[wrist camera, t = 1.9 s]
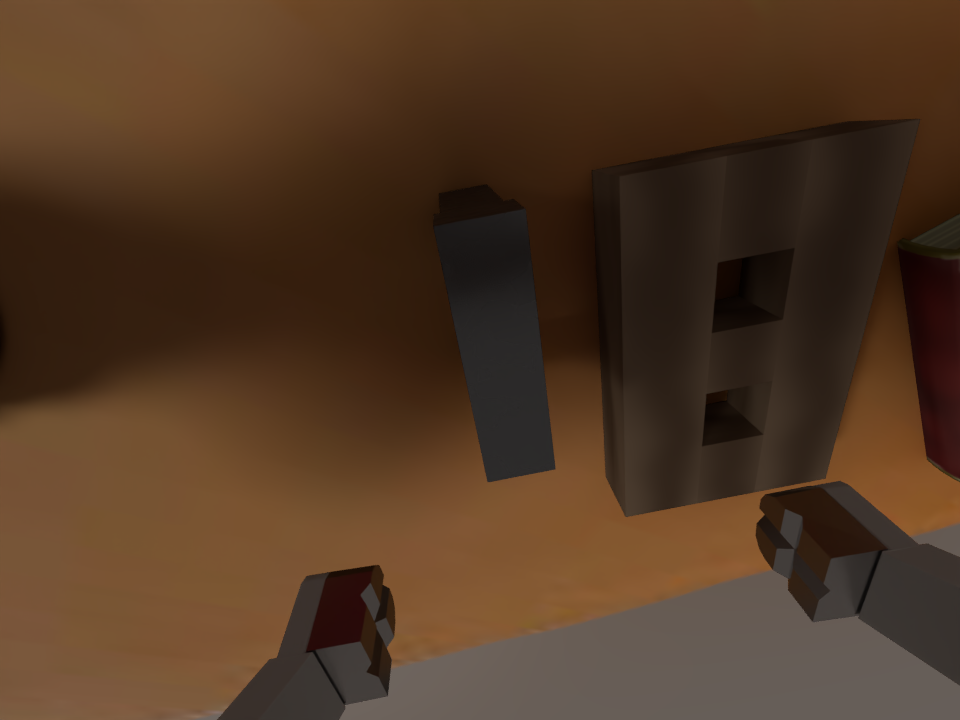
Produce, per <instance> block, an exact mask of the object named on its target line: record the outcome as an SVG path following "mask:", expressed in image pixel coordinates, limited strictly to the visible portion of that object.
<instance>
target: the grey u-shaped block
mask: <svg viewBox="0 0 960 720" xmlns="http://www.w3.org/2000/svg"><path fill="white" fill-rule="evenodd" d="M439 205H440V213H437V214H434V220H433V227H434V232H435V237H436V242H437V246H438V251H439V256H440V260H441V265H442V270H443V274H444V279H445V284H446V288H447V293H448V298H449V303H450V307H451V312H452V317H453V321H454V326H455V331H456V335H457V340H458V345H459V350H460V354H461V359H462V364H463V368H464V373H465V378H466V382H467V387H468V392H469V397H470V401H471V406H472V411H473V415H474V420H475V425H476V429H477V434H478V439H479V443H480V448H481V453H482V458H483V462H484V467H485V472H486V476H487V481H488V482H492V481H497V480H502V479H507V478H513V477H518V476H523V475H528V474H533V473H539V472H544V471H549V470H554V469H555V461H554V452H553V444H552V435H551V426H550V417H549V409H548V400H547V391H546V383H545V374H544V365H543V356H542V348H541V339H540V330H539V322H538V313H537V304H536V295H535V287H534V278H533V269H532V261H531V252H530V243H529V235H528V226H527V217H526V209H525V208H524V207H523V206H521V205H520V204H519V203H518V202H517V201H515V200H514V199H510V200H505V201H504V200H503V199H501V198H500V197H499V196H498V195H497V194H496V193H495V192H494V191H493V190H492V189H491V188H490V187H489V186H488V185H487V184H486V185H481V186H476V187H470V188H465V189H460V190H455V191H449V192H444V193H439Z"/></svg>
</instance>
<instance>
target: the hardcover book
mask: <svg viewBox="0 0 960 720" xmlns="http://www.w3.org/2000/svg"><path fill="white" fill-rule="evenodd" d="M897 244H898V252H899V259H900V266H901V273H902V281H903V288H904V295H905V303H906V310H907V317H908V324H909V332H910V339H911V346H912V354H913V361H914V368H915V375H916V383H917V390H918V397H919V405H920V412H921V419H922V426H923V434H924V441H925V448H926V456H927V460H928V461H929V462H930V463H932V464H933V465H934V466H935V467H936V468H938V469H939V470H940V471H942V472H943V473H945V474H946V475H948V476H950V477H951V478H953V479H955V480H957V481H959V482H960V214H958V215H956V216H955V217H953V218H951V219H949V220H947V221H945V222H943V223H942V224H940V225H938V226H936V227H934V228H932V229H931V230H929V231H927V232H925V233H923V234H921V235H919V236H918V237H916V238H914V239H912V240H910V241H909V240H907V239H904V238H903V239H901V240H900V241H898V242H897Z"/></svg>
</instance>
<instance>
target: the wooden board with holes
mask: <svg viewBox="0 0 960 720" xmlns="http://www.w3.org/2000/svg"><path fill="white" fill-rule="evenodd" d="M919 122H920V119H905V120H877V121H848V122H842V123H837V124H832V125H827V126H821V127H816V128H811V129H806V130H800V131H795V132H790V133H785V134H780V135H774V136H769V137H764V138H759V139H753V140H748V141H743V142H738V143H732V144H727V145H722V146H717V147H712V148H706V149H701V150H696V151H691V152H685V153H680V154H675V155H670V156H664V157H659V158H654V159H649V160H644V161H638V162H633V163H628V164H623V165H617V166H612V167H607V168H602V169H596V170H592V183H593V205H594V227H595V250H596V272H597V294H598V316H599V338H600V360H601V382H602V404H603V426H604V448H605V470H606V478H607V480H608V482H609V484H610V486H611V488H612V490H613V492H614V494H615V496H616V498H617V500H618V502H619V504H620V506H621V508H622V510H623V512H624V515H625V517H628V516H633V515H639V514H644V513H649V512H654V511H659V510H665V509H670V508H675V507H680V506H685V505H691V504H696V503H701V502H706V501H711V500H717V499H722V498H727V497H732V496H737V495H742V494H748V493H753V492H758V491H763V490H768V489H774V488H779V487H784V486H789V485H794V484H800V483H805V482H810V481H815V480H820V479H825V478H826V474H827V470H828V467H829V463H830V459H831V455H832V452H833V448H834V444H835V440H836V436H837V433H838V429H839V425H840V421H841V417H842V414H843V410H844V406H845V402H846V399H847V395H848V391H849V387H850V383H851V380H852V376H853V372H854V368H855V364H856V361H857V357H858V353H859V349H860V346H861V342H862V338H863V334H864V330H865V327H866V323H867V319H868V315H869V311H870V308H871V304H872V300H873V296H874V293H875V289H876V285H877V281H878V277H879V274H880V270H881V266H882V262H883V259H884V255H885V251H886V247H887V243H888V240H889V236H890V232H891V228H892V224H893V221H894V217H895V213H896V209H897V206H898V202H899V198H900V194H901V190H902V187H903V183H904V179H905V175H906V171H907V168H908V164H909V160H910V156H911V153H912V149H913V145H914V141H915V137H916V134H917V130H918V126H919ZM739 258H743V261H742V270H741V279H740V288H739V296H737V297H731V298H726V299H721V300H716V301H715V290H716V278H717V267H718V262H724V261H729V260H734V259H739ZM724 390H728V394H727V401H724V402H719V403H713V404H708V405H706V394H709V393H714V392H719V391H724Z"/></svg>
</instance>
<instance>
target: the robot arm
mask: <svg viewBox="0 0 960 720" xmlns="http://www.w3.org/2000/svg"><path fill="white" fill-rule="evenodd" d="M759 508H760V509H761V511H762V512H763V513H764V514H765V515H764V516H763V517H762V518H761V519H760V520H759V522H758V523H757V526H756V539H757V542H758V546H759V549H760V551H761V553H762V555H763V557H764V559H765V560H766V561H767V563H768V564H769V565H770V567H771V568H772V569H773V570H774V571H776V572H777V573H779V574H781V575H783V576H784V577H786V578H788V591H789V592H790V593H791V594H792V596H793V597H794V598H795V600H796V601H797V602H798V603H799V605H800V606H801V607H802V609H803V610H804V611H805V613H806V614H807V615H808V617H809V618H810V619H811V620H812V621H813V622H817V621H824V620H831V619H838V618H845V617H852V616H859V617H858V618H859V619H860V620H862V621H863V622H865V623H866V624H868V625H869V626H871V627H872V628H874V629H875V630H877V631H878V632H880V633H881V634H883V635H884V636H886V637H887V638H889V639H890V640H892V641H893V642H895V643H897V644H898V645H899V646H901V647H903V648H904V649H905V650H907V651H908V652H910V653H912V654H913V655H915V656H916V657H918V658H919V659H921V660H922V661H924V662H925V663H927V664H928V665H930V666H931V667H933V668H934V669H936V670H937V671H939V672H940V673H942V674H943V675H945V676H946V677H948V678H949V679H951V680H952V681H954V682H955V683H957V684H958V685H960V557H958V556H956V555H953V554H951V553H948V552H946V551H944V550H941V549H939V548H937V547H934V546H932V545H929V544H921V545H919V544H918V543H916V542H915V541H914V540H913V539H912V538H911V537H909V536H908V535H907V534H906V533H905V532H903V531H902V530H901V529H900V528H899V527H898V526H896V525H895V524H894V523H893V522H892V521H891V520H889V519H888V518H887V517H886V516H885V515H883V514H882V513H881V512H880V511H879V510H878V509H876V508H875V507H874V506H873V505H872V504H871V503H869V502H868V501H867V500H866V499H865V498H863V497H862V496H861V495H860V494H859V493H858V492H856V491H855V490H854V489H853V488H852V487H851V486H849V485H848V484H846V483H843V482H841V481H837V482H831V483H826V484H820V485H815V486H806V487H801V488H796V489H791V490H786V491H781V492H775V493H770V494H765V495H764V496H763V497H762V499H761V502H760V507H759ZM383 578H384V574H383V572H382V570H381V568H380V566H379V565H373V566H366V567H360V568H353V569H346V570H340V571H333V572H327V573H321V574H315V575H309V576H306V578H305V579H304V581H303V582H302V584H301V586H300V589H299V592H298V595H297V598H296V601H295V604H294V607H293V610H292V613H291V616H290V619H289V622H288V625H287V628H286V631H285V634H284V637H283V640H282V644H281V647H280V650H279V653H278V656H277V658H274V659H269V660H268V662H267V663H266V664H265V665H264V666H263V667H262V668H261V670H260V671H259V672H258V673H257V674H256V675H255V677H254V678H253V679H252V680H251V681H250V682H249V684H248V685H247V686H246V687H245V688H244V689H243V690H242V692H241V693H240V694H239V695H238V696H237V697H236V699H235V700H234V701H233V702H232V703H231V704H230V705H229V707H228V708H227V709H226V710H225V711H224V712H223V714H222V715H221V716H220V717H219V718H218V719H217V720H339V719H340V717H341V715H342V713H343V712H344V710H345V705H347V704H351V703H357V702H362V701H367V700H371V699H376V698H381V697H386V696H388V690H389V680H390V671H391V662H392V659H391V657H390V654H389V652H388V650H387V646H388V645H389V643H390V642H391V641H392V639H393V638H394V633H395V606H394V601H393V596H392V594H391V591H390V589H389V588H387V587H386V586H384V585H383Z"/></svg>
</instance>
